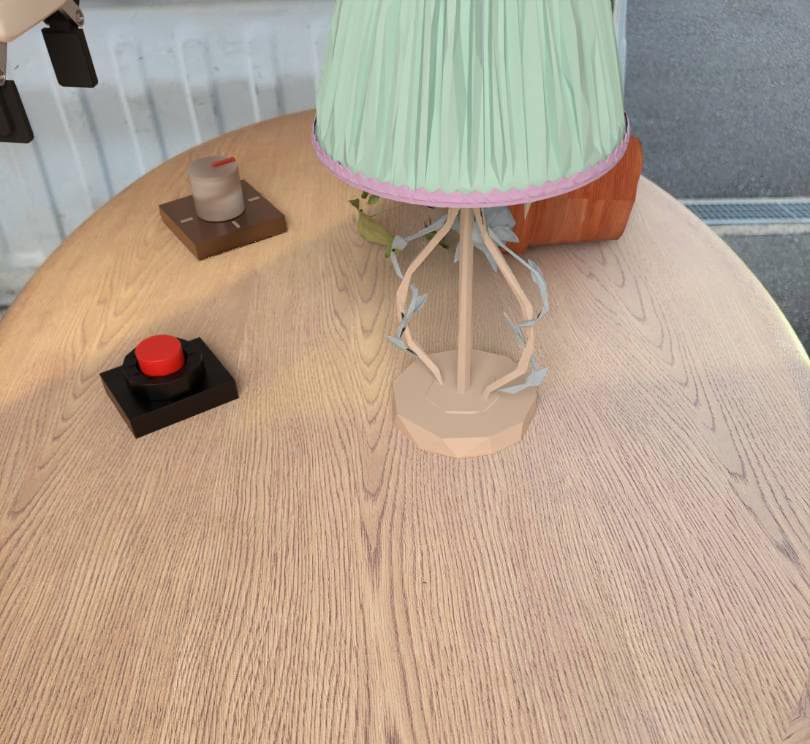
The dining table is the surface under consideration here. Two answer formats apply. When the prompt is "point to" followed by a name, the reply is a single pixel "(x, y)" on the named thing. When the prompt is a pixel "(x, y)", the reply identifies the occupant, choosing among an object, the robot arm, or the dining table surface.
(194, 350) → the switch block
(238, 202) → the dimmer knob
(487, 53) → the table lamp
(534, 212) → the potted plant
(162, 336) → the light button
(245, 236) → the dimmer panel
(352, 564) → the dining table surface
